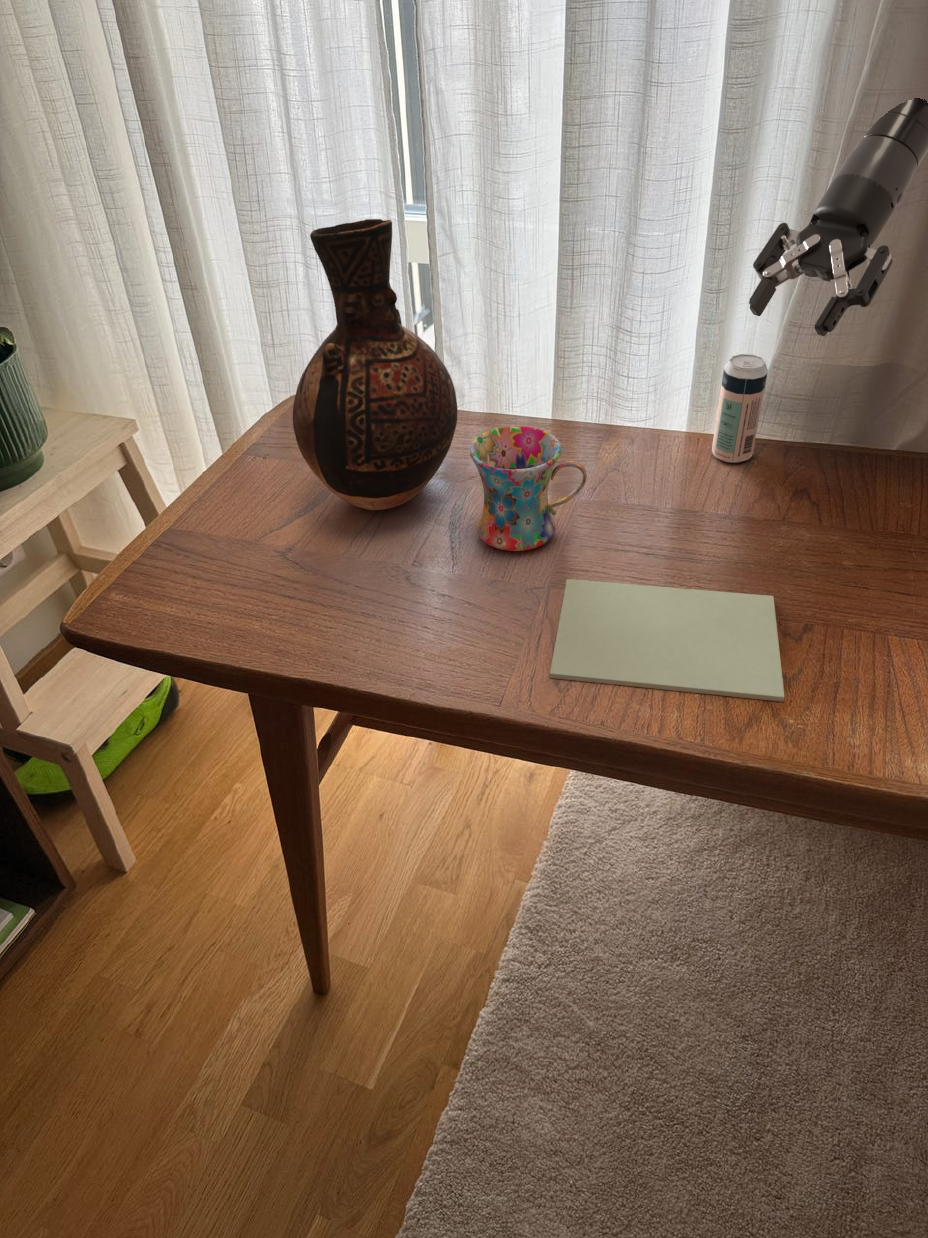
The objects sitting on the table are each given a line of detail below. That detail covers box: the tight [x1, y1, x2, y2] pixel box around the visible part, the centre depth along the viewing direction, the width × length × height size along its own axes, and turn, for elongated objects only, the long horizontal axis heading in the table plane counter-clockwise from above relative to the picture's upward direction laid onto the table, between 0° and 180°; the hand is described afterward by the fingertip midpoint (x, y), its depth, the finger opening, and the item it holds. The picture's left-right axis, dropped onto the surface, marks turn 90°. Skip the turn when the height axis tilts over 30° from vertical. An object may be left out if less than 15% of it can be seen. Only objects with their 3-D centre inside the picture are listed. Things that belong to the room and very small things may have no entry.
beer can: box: [711, 353, 769, 464], centre depth 104 cm, size 5×5×12 cm
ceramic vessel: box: [292, 218, 458, 511], centre depth 95 cm, size 21×18×30 cm
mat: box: [549, 578, 786, 703], centre depth 82 cm, size 20×14×1 cm
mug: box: [469, 425, 588, 552], centre depth 93 cm, size 12×9×11 cm
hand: (785, 321), depth 101 cm, fingers open, 8 cm apart
